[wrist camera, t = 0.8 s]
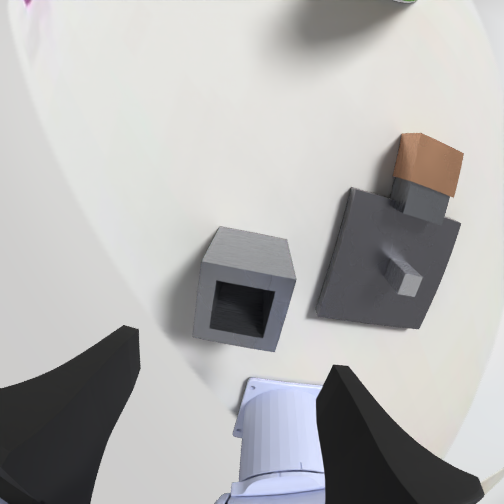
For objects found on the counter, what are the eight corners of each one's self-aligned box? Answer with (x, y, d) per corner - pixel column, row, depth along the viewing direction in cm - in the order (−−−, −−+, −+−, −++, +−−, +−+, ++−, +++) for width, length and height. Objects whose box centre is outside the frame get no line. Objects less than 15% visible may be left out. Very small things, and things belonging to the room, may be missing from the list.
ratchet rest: (414, 322, 21) (431, 347, 18) (315, 308, 21) (323, 337, 17) (467, 163, 16) (497, 169, 13) (365, 120, 16) (387, 115, 13)
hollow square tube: (272, 297, 20) (274, 352, 15) (210, 286, 20) (192, 337, 15) (286, 239, 19) (296, 279, 13) (220, 226, 19) (201, 261, 13)
